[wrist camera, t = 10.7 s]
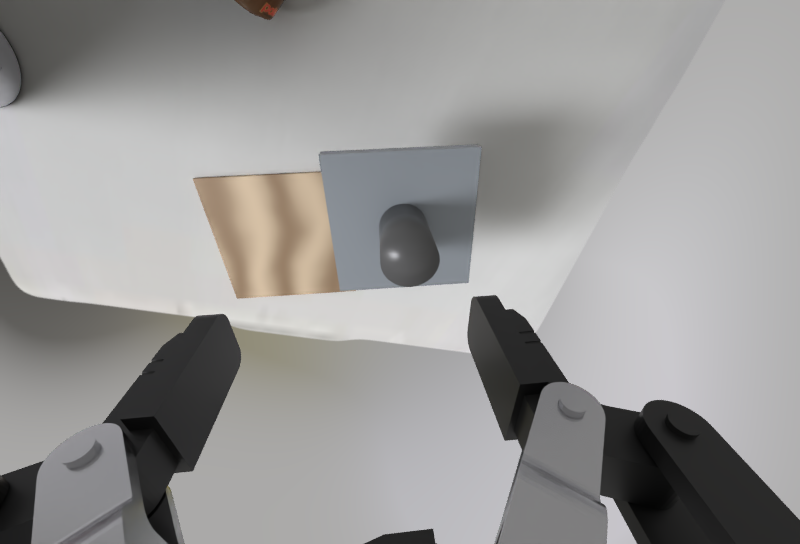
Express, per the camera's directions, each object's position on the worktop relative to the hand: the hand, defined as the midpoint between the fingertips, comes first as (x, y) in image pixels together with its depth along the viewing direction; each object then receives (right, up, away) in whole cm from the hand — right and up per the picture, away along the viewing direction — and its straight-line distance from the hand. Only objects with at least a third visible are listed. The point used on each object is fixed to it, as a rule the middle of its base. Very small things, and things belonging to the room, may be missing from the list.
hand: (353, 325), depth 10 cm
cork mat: (-13, +6, +28) cm, 32 cm away
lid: (+2, +6, +17) cm, 18 cm away
